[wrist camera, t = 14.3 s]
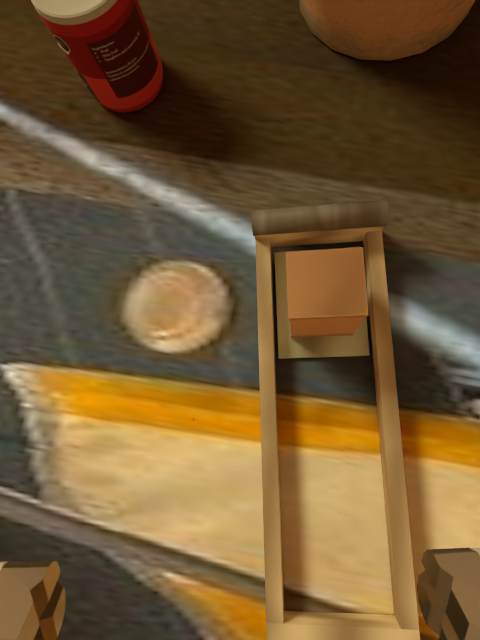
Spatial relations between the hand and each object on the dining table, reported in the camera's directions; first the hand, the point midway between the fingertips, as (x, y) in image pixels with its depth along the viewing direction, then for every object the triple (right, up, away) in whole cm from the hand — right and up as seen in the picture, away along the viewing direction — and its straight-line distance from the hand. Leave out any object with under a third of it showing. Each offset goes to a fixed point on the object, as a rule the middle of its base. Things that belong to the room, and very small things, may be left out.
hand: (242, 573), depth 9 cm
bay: (+7, -1, +25) cm, 26 cm away
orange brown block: (+7, +7, +26) cm, 28 cm away
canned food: (-11, +30, +34) cm, 47 cm away
